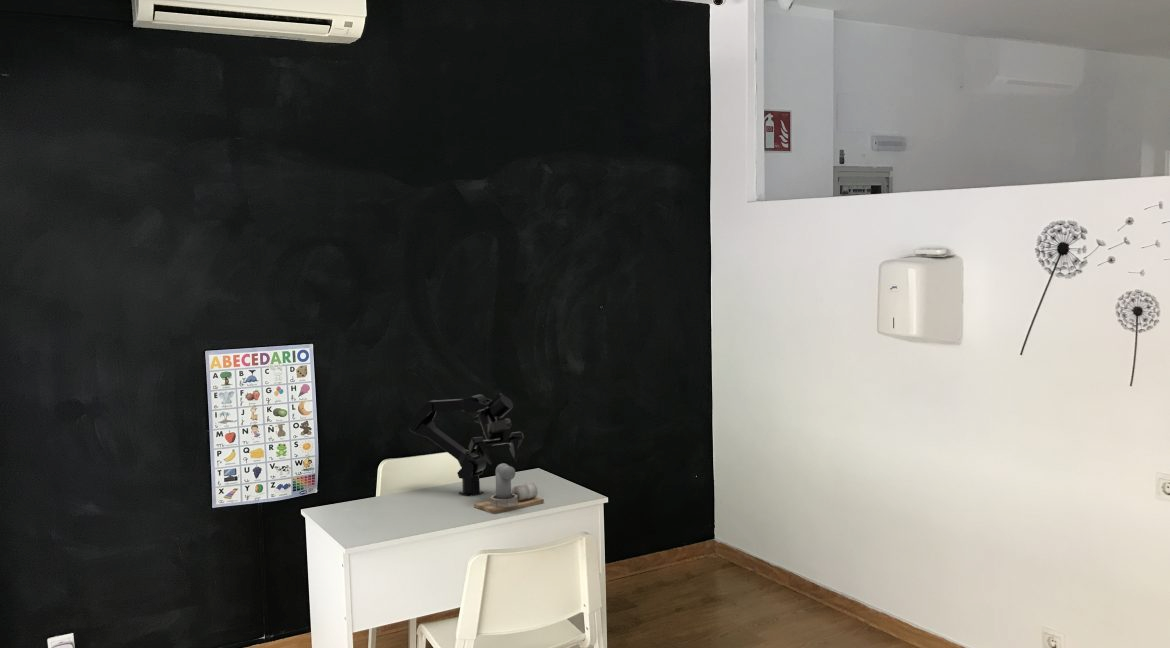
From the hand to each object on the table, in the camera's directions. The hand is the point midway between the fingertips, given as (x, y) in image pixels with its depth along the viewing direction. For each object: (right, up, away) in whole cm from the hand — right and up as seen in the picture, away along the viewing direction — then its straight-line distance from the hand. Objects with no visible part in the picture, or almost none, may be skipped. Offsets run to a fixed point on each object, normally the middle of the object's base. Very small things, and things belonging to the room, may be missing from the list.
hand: (504, 462), depth 305 cm
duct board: (+2, -14, -3) cm, 14 cm away
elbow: (0, -13, -6) cm, 14 cm away
